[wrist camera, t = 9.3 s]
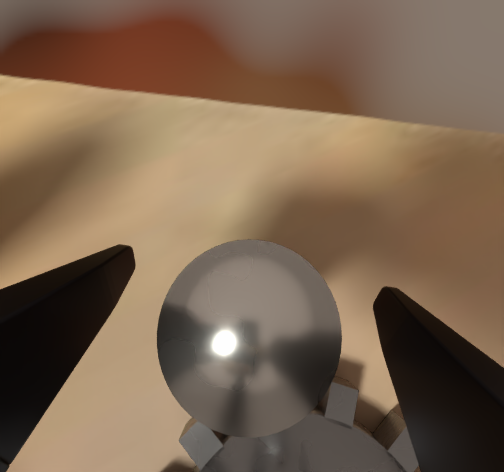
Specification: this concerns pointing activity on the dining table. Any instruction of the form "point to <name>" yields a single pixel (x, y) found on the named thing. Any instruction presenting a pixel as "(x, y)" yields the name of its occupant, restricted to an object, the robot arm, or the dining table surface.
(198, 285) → the pin
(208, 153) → the dining table surface
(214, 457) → the sprocket
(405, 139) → the dining table surface
